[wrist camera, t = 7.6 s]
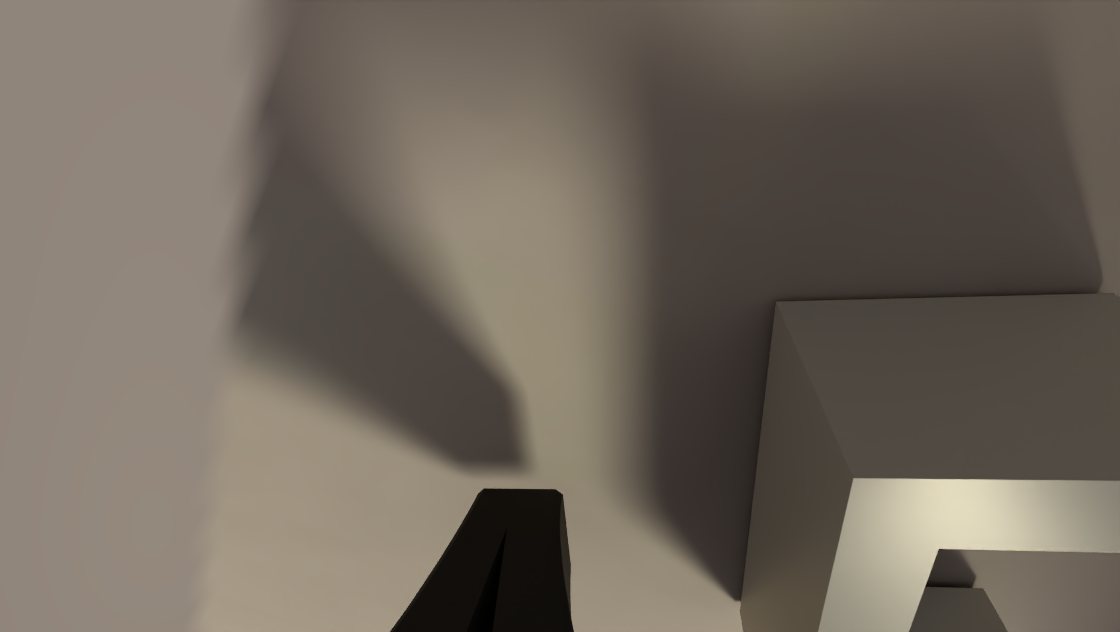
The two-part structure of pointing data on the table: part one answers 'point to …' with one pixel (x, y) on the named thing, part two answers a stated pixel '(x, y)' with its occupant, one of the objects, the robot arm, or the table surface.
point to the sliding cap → (927, 453)
